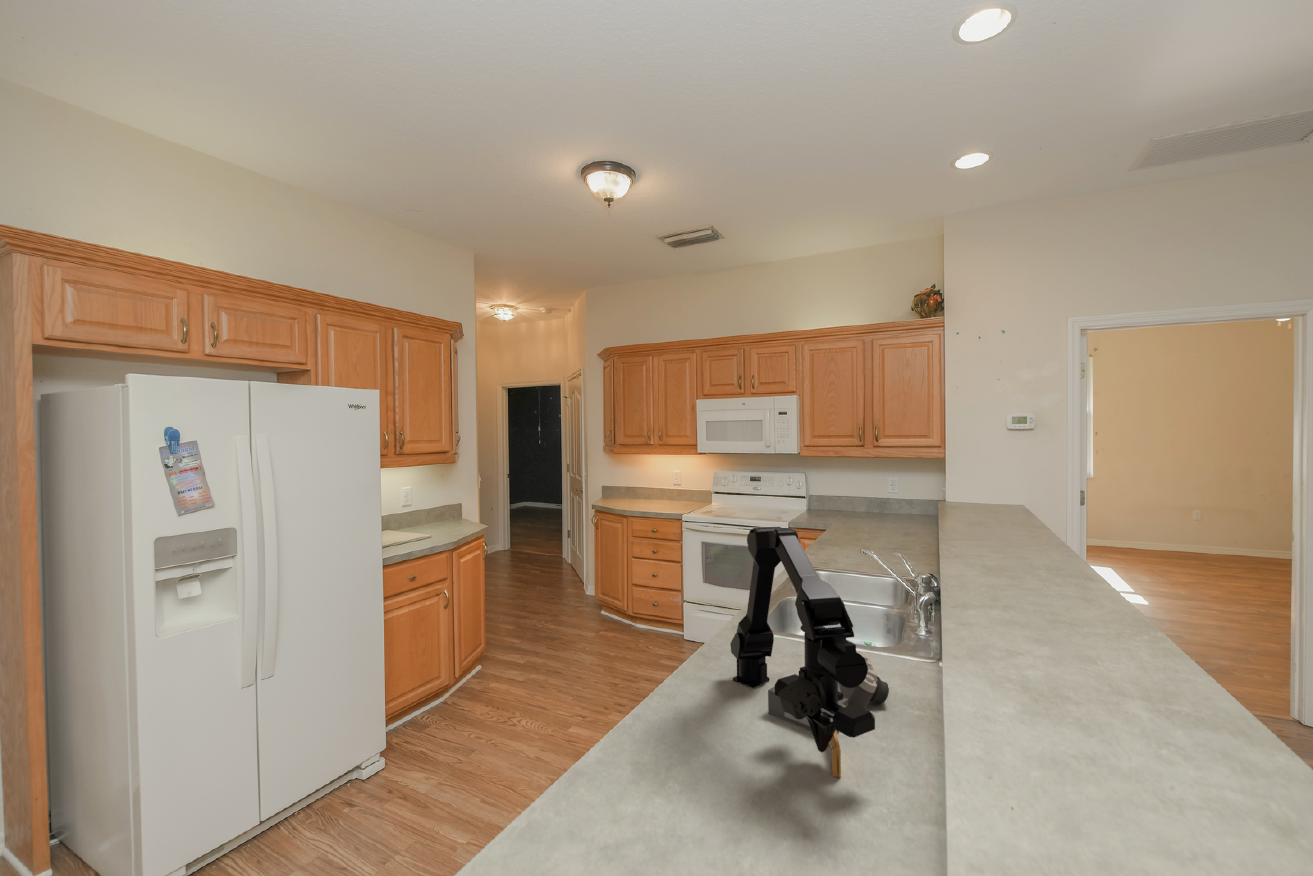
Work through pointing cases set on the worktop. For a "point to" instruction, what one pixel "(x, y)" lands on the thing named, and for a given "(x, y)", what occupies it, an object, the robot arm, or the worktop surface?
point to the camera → (866, 688)
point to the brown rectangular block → (836, 756)
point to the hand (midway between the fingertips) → (821, 751)
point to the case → (777, 711)
